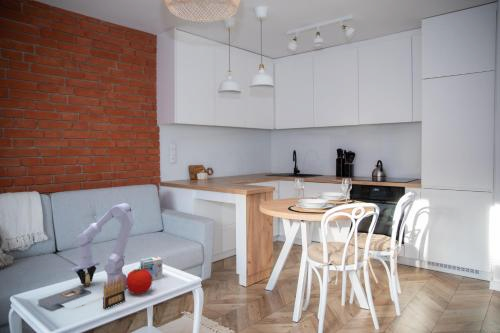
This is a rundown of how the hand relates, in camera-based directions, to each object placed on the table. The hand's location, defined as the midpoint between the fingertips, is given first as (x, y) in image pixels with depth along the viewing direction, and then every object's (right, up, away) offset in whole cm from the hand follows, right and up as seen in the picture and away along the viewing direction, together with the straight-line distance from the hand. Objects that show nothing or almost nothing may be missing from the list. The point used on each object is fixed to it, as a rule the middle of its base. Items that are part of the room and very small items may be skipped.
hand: (86, 282), depth 189 cm
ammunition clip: (+22, -4, -21) cm, 31 cm away
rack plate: (-3, -4, -15) cm, 16 cm away
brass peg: (0, -1, 0) cm, 1 cm away
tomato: (+29, -3, -7) cm, 30 cm away
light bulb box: (+30, -2, +14) cm, 33 cm away
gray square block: (0, -3, 0) cm, 3 cm away
